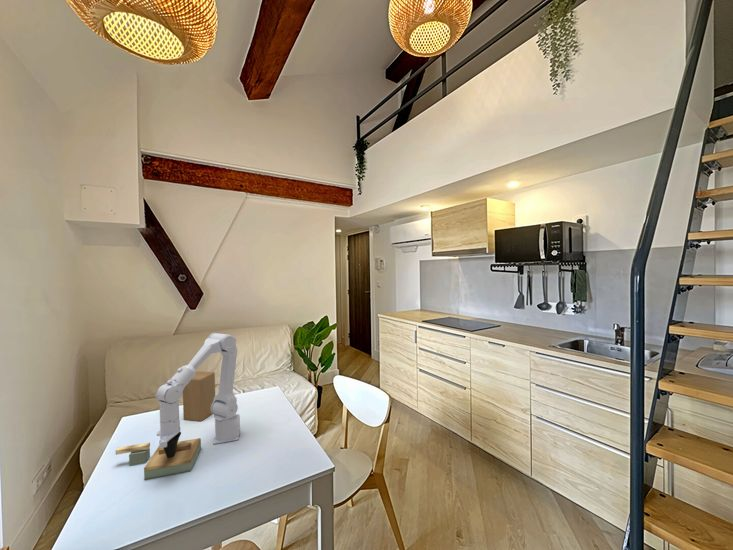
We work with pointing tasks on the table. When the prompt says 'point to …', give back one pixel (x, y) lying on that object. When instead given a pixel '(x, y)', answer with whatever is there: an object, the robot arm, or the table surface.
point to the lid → (182, 456)
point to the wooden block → (199, 396)
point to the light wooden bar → (132, 448)
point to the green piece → (172, 468)
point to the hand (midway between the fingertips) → (171, 456)
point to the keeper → (139, 457)
